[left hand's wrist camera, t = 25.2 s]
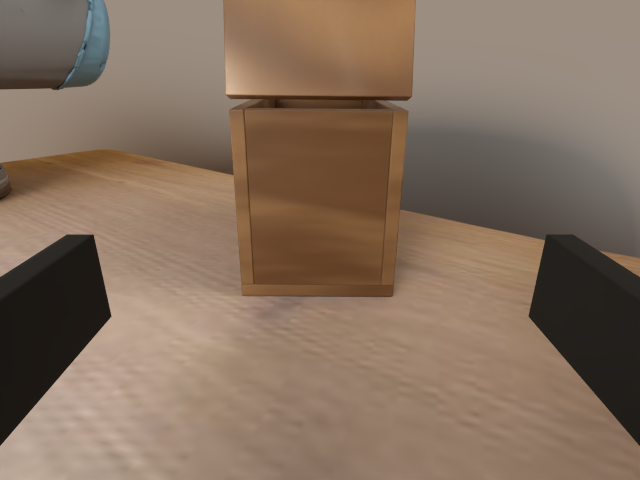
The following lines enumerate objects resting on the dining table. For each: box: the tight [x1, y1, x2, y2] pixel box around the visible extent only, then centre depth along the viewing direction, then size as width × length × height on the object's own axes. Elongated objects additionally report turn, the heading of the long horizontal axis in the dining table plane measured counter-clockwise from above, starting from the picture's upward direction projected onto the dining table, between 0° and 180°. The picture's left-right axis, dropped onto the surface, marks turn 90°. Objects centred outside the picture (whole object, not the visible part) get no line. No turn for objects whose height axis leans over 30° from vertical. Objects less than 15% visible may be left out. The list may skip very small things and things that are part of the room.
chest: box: [229, 99, 408, 296], centre depth 31 cm, size 17×9×11 cm, turn 0°
